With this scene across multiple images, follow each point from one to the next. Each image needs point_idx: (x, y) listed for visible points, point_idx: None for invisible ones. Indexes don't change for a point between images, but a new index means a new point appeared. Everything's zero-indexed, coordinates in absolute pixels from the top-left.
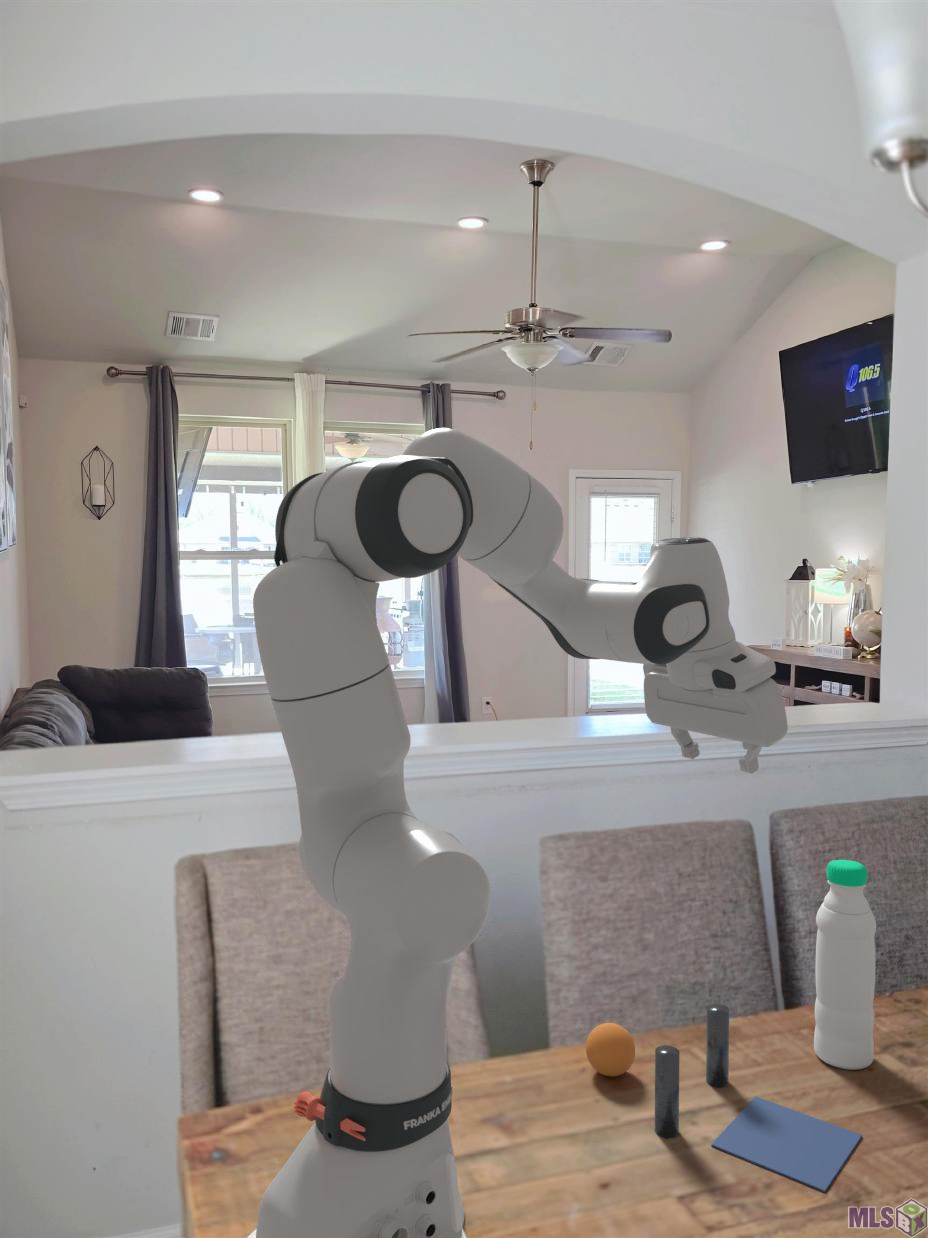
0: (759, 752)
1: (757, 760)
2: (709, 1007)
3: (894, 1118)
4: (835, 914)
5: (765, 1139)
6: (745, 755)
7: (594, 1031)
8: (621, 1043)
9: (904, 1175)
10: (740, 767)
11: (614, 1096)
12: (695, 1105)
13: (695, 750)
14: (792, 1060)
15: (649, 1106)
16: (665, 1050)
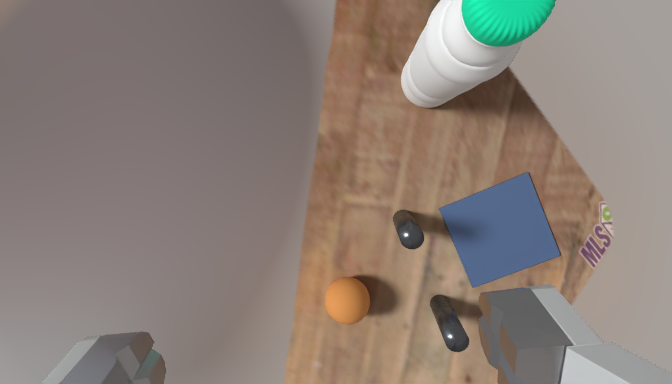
0: (662, 371)
1: (582, 321)
2: (405, 244)
3: (523, 123)
4: (490, 68)
5: (490, 247)
6: (519, 370)
7: (339, 321)
8: (365, 308)
9: (579, 183)
10: (491, 363)
11: (379, 307)
12: (421, 259)
13: (126, 370)
14: (407, 129)
15: (404, 292)
16: (455, 342)
